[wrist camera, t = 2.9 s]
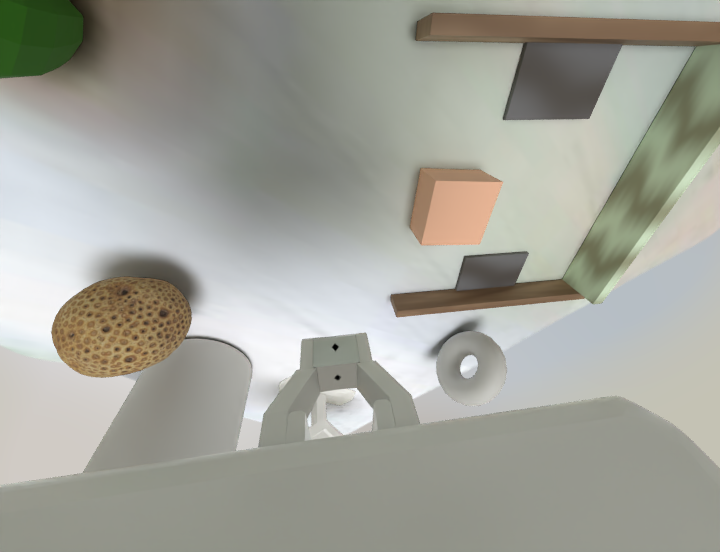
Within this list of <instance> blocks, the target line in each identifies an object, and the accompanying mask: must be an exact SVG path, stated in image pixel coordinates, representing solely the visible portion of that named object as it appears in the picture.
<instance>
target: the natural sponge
mask: <svg viewBox="0 0 720 552" xmlns="http://www.w3.org/2000/svg"><path fill="white" fill-rule="evenodd" d="M191 319H192V317H191V309H190V306H189V303H188V301H187V300H186V298H185V297H184V296H183V294H182V293H181V292H180V291H179V290H178V289H177V288H176V287H175V286H174V285H172V284H170V283H169V282H166V281H163V280H159V279H153V278H138V277H115V278H111V279H106V280H103V281H99V282H97V283H94V284H92V285H90V286H89V287H87V288H85V289H83V290H82V291H81V292H79V293H78V294H76V295H75V296H73V297H72V298H71V299H70V300H68V301H67V302H66V303H65V304H64V305H63V306H62V308H61V309H60V310H59V312H58V314H57V315H56V317H55V320H54V323H53V326H52V332H51V333H52V338H53V343H54V346H55V348H56V349H57V353H58V355H59V356H60V358H61V359H62V360H63V361H64V362H65V363H66V364H67V365H68V366H69V367H70V368H72V369H73V370H75V371H77V372H79V373H80V374H83V375H86V376H91V377H101V378H102V377H114V376H120V375H125V374H130V373H133V372H137V371H140V370H143V369H145V368H148V367H150V366H153V365H155V364H157V363H159V362H161V361H163V360H165V359H166V358H168V357H169V356H170V355H171V354H172V352H173V351H175V350H176V349H177V348H178V347H179V346H180V345H181V343H182V342H183V340H184V339H185V337H186V335H187V333H188V330H189V328H190V324H191Z"/></svg>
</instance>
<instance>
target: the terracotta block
mask: <svg viewBox="0 0 720 552" xmlns="http://www.w3.org/2000/svg"><path fill="white" fill-rule="evenodd" d="M502 184H503V182H502V181H500V180H498V179H496V178H494V177H493V176H491V175H489V174H487V173H485V172H483V171H482V170H467V169H432V168H421V170H420V175H419V180H418V186H417V191H416V196H415V202H414V207H413V212H412V218H411V223H410V229H411V230H412V232H413V233H414V235H415V236H416V238H417V240H418V241H419V243H420V244H421V245H473V244H480V242H481V240H482V237H483V234H484V232H485V229H486V226H487V224H488V221H489V218H490V216H491V213H492V210H493V208H494V205H495V202H496V200H497V197H498V194H499V192H500V189H501V186H502Z"/></svg>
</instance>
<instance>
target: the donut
mask: <svg viewBox="0 0 720 552" xmlns="http://www.w3.org/2000/svg"><path fill="white" fill-rule="evenodd" d="M468 355H474V356H475V357H476V358H477V361H478V368H477V371H476V373H475V375H474V376H473V377H471V378H469V379H466V378H464V377H463V376H462V375H461V372H460V365H461V362H462V360H463V359H464V358H465V357H466V356H468ZM436 373H437V376H438V380H439V383H440V385H441V386H442V388H443V390H444V391H445V393H446V394H447V395H448V396H449V397H451V398H452V399H453V400H454V401H456V402H458V403H461V404H463V405H466V406H480V405H483V404H485V403H488V402H490V401H491V400H492V399H493V398H495V397H496V396H497V395H498V394H499V393H500V391H501V389H502V387H503V385H504V383H505V379H506V373H507V367H506V360H505V356H504V354H503V352H502V350H501V348H500V347H499V346H498V345H497V344H496V343H495V342H494V341H493V339H492V338H491V337H489V336H487V335H485V334H483V333H480V332H475V331H465V332H461V333H457V334H456V335H454V336H452V337H450V338H449V339H448V340H447V341H446V342H445V343H444V344H443V346H442V348H441V350H440V352H439V354H438V358H437V362H436Z"/></svg>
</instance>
